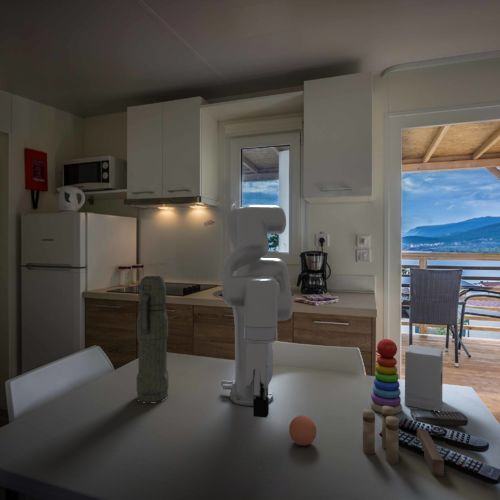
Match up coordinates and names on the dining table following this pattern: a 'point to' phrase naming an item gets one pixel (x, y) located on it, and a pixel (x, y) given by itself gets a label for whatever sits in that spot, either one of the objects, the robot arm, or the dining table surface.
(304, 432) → the ball
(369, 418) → the pin front
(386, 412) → the pin
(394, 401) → the stacking toy
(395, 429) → the pin
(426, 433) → the wall
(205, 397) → the dining table surface
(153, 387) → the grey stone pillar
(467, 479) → the dining table surface
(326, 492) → the dining table surface
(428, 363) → the supplement box
